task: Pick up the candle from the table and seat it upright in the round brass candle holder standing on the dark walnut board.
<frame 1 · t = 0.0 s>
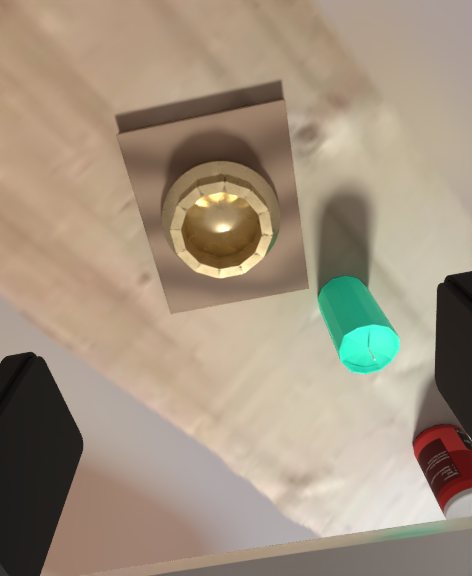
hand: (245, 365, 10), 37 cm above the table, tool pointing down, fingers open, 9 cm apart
candle holder: (221, 218, 46), resting on walnut board
candle: (342, 297, 52), on the table
walnut board: (221, 214, 47), on the table
canned food: (438, 441, 64), on the table
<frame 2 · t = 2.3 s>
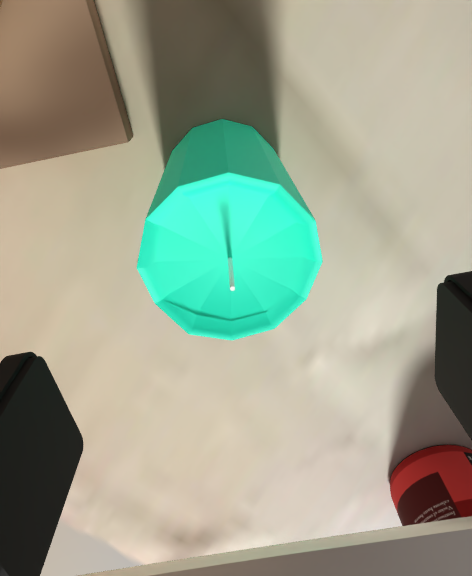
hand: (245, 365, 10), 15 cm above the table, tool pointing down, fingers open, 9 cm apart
candle: (223, 177, 23), on the table
canned food: (434, 472, 36), on the table
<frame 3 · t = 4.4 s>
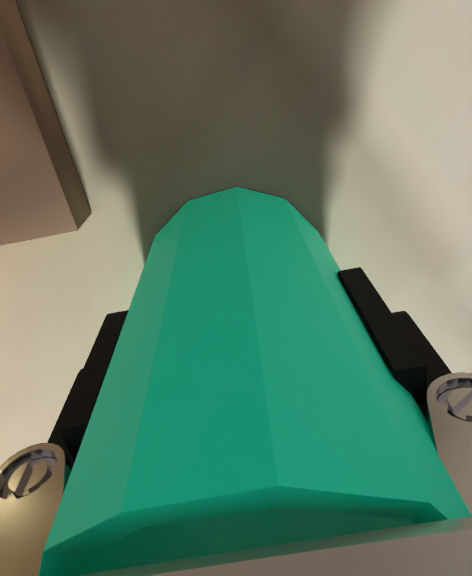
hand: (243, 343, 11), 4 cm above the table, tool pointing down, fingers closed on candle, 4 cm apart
candle: (237, 273, 15), on the table, touching gripper
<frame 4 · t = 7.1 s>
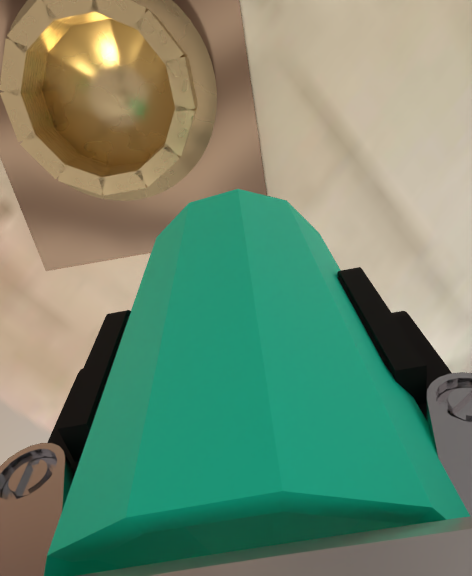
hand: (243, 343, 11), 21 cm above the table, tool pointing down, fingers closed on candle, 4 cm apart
candle holder: (115, 96, 26), resting on walnut board
candle: (238, 274, 15), point 16 cm above the table, touching gripper
walnut board: (120, 95, 27), on the table
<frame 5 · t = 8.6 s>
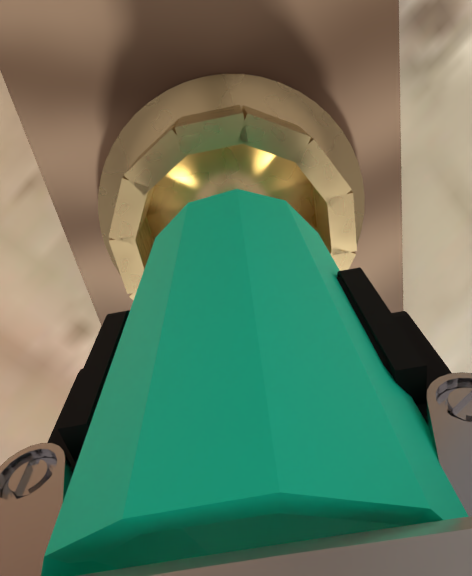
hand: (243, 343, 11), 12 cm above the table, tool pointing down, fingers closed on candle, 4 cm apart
candle holder: (232, 213, 21), resting on walnut board
candle: (237, 274, 15), point 8 cm above the table, touching gripper
walnut board: (231, 204, 22), on the table
when the fingers open (8 cm above the table, at t = 9.9 s): candle drops 1 cm, resting on candle holder.
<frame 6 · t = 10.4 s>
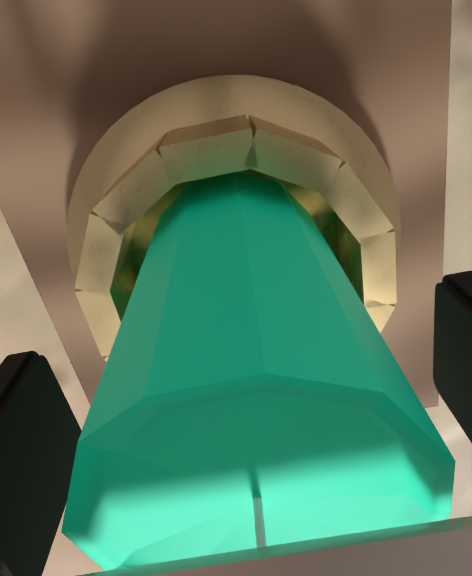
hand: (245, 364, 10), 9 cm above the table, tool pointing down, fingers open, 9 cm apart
candle holder: (234, 247, 17), resting on walnut board
candle: (235, 252, 16), point 2 cm above the table, touching candle holder
walnut board: (233, 233, 18), on the table
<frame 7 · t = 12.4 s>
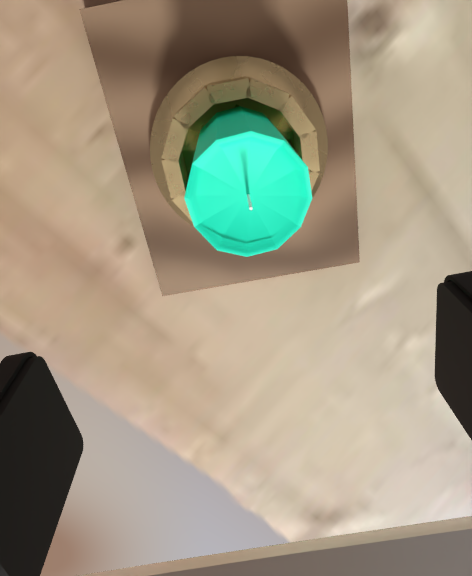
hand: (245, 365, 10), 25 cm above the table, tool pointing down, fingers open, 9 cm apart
candle holder: (238, 153, 31), resting on walnut board
candle: (239, 153, 30), point 2 cm above the table, touching candle holder
walnut board: (237, 149, 32), on the table
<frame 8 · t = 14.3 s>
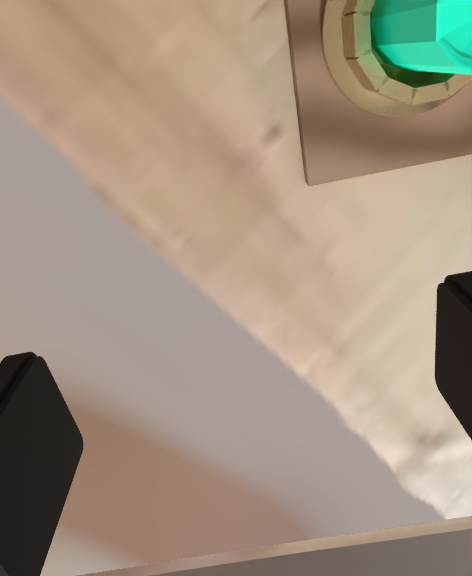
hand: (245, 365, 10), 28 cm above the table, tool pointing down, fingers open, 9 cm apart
candle holder: (406, 23, 31), resting on walnut board
candle: (411, 20, 30), point 2 cm above the table, touching candle holder
walnut board: (398, 25, 32), on the table
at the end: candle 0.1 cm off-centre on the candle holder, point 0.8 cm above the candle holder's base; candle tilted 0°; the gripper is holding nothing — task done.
